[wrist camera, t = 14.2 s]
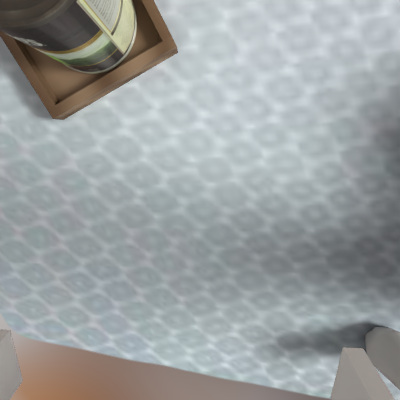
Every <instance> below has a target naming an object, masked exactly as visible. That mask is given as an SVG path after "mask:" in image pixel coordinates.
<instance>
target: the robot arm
mask: <svg viewBox="0 0 400 400" xmlns="http://www.w3.org/2000/svg"><path fill="white" fill-rule="evenodd" d="M22 381H23V379H22V375H21V371H20V367H19V363H18V359H17V355H16V351H15V347H14V343H13V339H12V336H11V331H10V330H0V400H10V399H11V397H12V396H13V394H14V393H15V391H16V390H17V388H18V387H19V386H20V384H21V382H22ZM330 399H331V400H395V399H394V398H393V396H392V394H391V393H390V391H389V390H388V388H387V386H386V385H385V383H384V381H383V380H382V378H381V377H380V375H379V373H378V372H377V370H376V368H375V367H374V365H373V364H372V362H371V360H370V359H369V357H368V355H367V354H366V352H365V351H364V349H363V348H346V347H343V349H342V353H341V357H340V361H339V365H338V369H337V373H336V377H335V382H334V386H333V390H332V394H331V398H330Z"/></svg>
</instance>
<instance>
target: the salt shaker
mask: <svg viewBox="0 0 400 400" xmlns="http://www.w3.org/2000/svg"><path fill="white" fill-rule="evenodd" d="M365 347H366V352H367V355H368V357H369V359H370V360H371V362H372V364H373V365H374V366H375V367H376V368H377V369H378V370H379V371H380V372H381V373H382V374H383V375H384V376H385V377H386V378H387V379H389V380H390V381H391V382H392V383H393V384H394V385H395V386H396V387H397V388H398V389H399V390H400V332H398V331H395V330H393V329H391V328H388V327H374V328H373V329H372V330H371V331H369V332H368V333H367V334H366V335H365Z"/></svg>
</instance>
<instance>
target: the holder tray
mask: <svg viewBox="0 0 400 400" xmlns="http://www.w3.org/2000/svg"><path fill="white" fill-rule="evenodd" d="M132 1H133V3H134V7H135V11H136V16H137V31H136V37H135V41H134V44H133V46H132V48H131V50H130V52H129V54H128V55H127V57H126V58H125V59H124V60H123V61H122V62H121V63H120V64H119V65H117V66H116V67H115V68H113V69H111V70H109V71H106V72H103V73H98V74H87V73H82V72H78V71H75V70H72V69H70V68H69V67H67V66H65V65H64V64H62V63H61V62H59V61H57V60H55V59H53V58H51V57H50V56H48V55H46V54H44V53H42V52H40V51H38V50H36V49H34V48H33V47H31V46H29V45H27V44H25V43H23V42H21V41H19V40H17V39H15V38H13V37H11V36H9V35H8V34H6V33H4V32H2V31H0V36H1V38H2V39H3V41H4V42H5V44H6V45H7V47H8V49H9V50H10V52H11V53H12V55H13V56H14V58H15V60H16V61H17V63H18V64H19V66H20V67H21V69H22V71H23V72H24V74H25V75H26V77H27V78H28V80H29V82H30V83H31V85H32V86H33V88H34V89H35V91H36V93H37V94H38V96H39V97H40V99H41V101H42V102H43V104H44V105H45V107H46V108H47V110H48V112H49V113H50V115H51V116H52V118H53V119H62V120H64V119H65V118H67V117H69V116H70V115H72V114H74V113H76V112H77V111H79V110H81V109H82V108H84V107H86V106H87V105H89V104H91V103H93V102H94V101H96V100H98V99H99V98H101V97H103V96H105V95H106V94H108V93H110V92H111V91H113V90H115V89H116V88H118V87H120V86H122V85H123V84H125V83H127V82H128V81H130V80H132V79H133V78H135V77H137V76H139V75H140V74H142V73H144V72H145V71H147V70H149V69H150V68H152V67H154V66H156V65H157V64H159V63H161V62H162V61H164V60H166V59H167V58H169V57H171V56H173V55H174V54H176V53H178V51H177V47H176V44H175V42H174V40H173V38H172V36H171V34H170V32H169V30H168V28H167V26H166V24H165V22H164V20H163V18H162V16H161V14H160V12H159V10H158V8H157V6H156V4H155V2H154V0H132Z"/></svg>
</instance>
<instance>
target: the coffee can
mask: <svg viewBox="0 0 400 400" xmlns="http://www.w3.org/2000/svg"><path fill="white" fill-rule="evenodd" d="M0 31H2V32H4V33H6V34H8V35H9V36H11V37H13V38H15V39H17V40H19V41H21V42H23V43H25V44H27V45H29V46H31V47H33V48H34V49H36V50H38V51H40V52H42V53H44V54H46V55H48V56H50V57H51V58H53V59H55V60H57V61H59V62H61V63H62V64H64V65H65V66H67V67H69V68H70V69H72V70H75V71H78V72H82V73H87V74H98V73H103V72H106V71H109V70H111V69H113V68H115V67H116V66H117V65H119V64H120V63H121V62H122V61H123V60H124V59H125V58H126V57H127V55H128V54H129V52H130V50H131V48H132V46H133V44H134V41H135V37H136V31H137V16H136V11H135V7H134V3H133V1H132V0H0Z"/></svg>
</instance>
